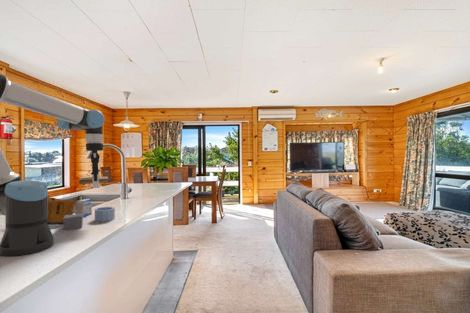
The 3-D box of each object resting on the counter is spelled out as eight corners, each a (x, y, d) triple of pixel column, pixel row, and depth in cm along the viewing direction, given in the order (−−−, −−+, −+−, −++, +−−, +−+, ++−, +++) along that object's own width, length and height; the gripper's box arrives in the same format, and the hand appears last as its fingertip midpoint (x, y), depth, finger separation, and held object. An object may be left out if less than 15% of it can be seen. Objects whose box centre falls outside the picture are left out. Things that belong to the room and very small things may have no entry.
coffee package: (41, 197, 133) (82, 198, 132) (37, 221, 131) (79, 223, 130) (25, 196, 124) (70, 197, 123) (20, 222, 121) (65, 224, 120)
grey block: (81, 227, 117) (81, 216, 117) (63, 230, 113) (63, 218, 113) (82, 224, 123) (82, 213, 123) (65, 226, 120) (65, 215, 120)
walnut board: (108, 182, 125) (108, 178, 125) (79, 184, 119) (79, 180, 119) (107, 180, 135) (107, 176, 135) (80, 181, 130) (80, 177, 130)
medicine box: (83, 217, 136) (83, 201, 136) (74, 217, 136) (74, 201, 136) (91, 214, 144) (91, 198, 144) (83, 214, 144) (83, 198, 144)
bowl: (114, 220, 130) (114, 209, 130) (94, 222, 126) (94, 211, 126) (114, 216, 138) (114, 206, 138) (94, 218, 134) (94, 207, 134)
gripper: (103, 142, 118) (104, 189, 119) (102, 143, 140) (104, 182, 140) (84, 142, 115) (86, 190, 115) (86, 143, 136) (88, 184, 137)
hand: (96, 186), depth 128 cm, fingers closed on walnut board, 12 cm apart
